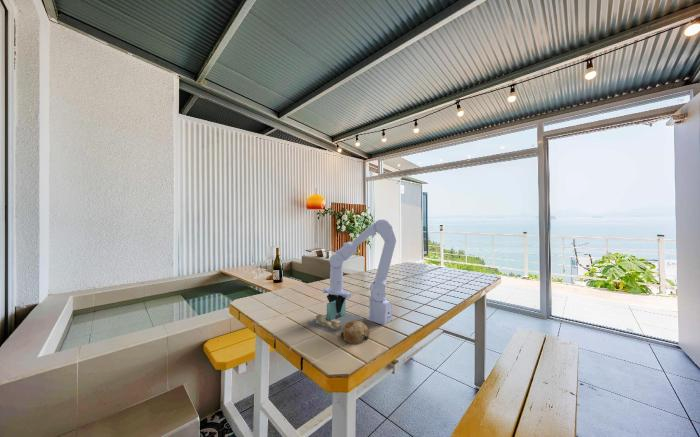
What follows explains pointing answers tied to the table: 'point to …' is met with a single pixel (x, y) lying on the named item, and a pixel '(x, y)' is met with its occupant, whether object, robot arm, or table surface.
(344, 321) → the mat
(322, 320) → the birch u-shaped block
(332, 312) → the teal board
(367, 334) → the bread roll
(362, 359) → the table surface
